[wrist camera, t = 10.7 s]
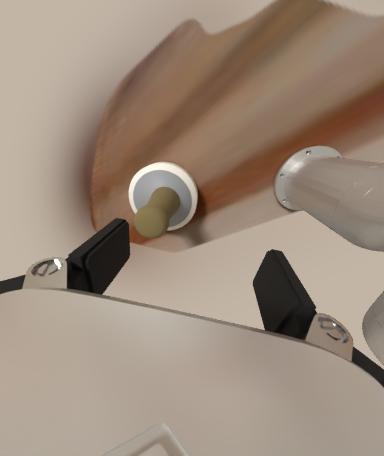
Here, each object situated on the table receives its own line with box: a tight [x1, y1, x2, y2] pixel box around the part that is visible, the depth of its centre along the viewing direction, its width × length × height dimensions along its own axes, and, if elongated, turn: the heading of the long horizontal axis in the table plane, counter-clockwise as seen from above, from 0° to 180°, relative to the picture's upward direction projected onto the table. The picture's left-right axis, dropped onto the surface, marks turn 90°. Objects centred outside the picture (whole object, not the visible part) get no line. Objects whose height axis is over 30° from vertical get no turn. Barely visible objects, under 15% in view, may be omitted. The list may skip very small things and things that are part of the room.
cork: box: [134, 187, 180, 238], centre depth 27 cm, size 6×6×11 cm
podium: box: [129, 161, 198, 231], centre depth 34 cm, size 14×14×5 cm
